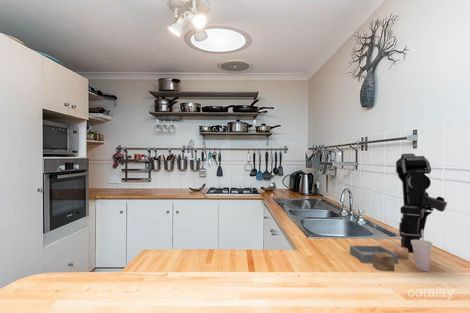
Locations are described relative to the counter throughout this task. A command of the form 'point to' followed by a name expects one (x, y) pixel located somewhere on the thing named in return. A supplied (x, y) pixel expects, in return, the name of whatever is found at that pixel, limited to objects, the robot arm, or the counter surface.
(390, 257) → the walnut block
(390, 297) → the counter surface
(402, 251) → the brown short cylinder
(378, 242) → the counter surface
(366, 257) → the tray
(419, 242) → the smoothie
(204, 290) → the counter surface
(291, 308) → the counter surface
